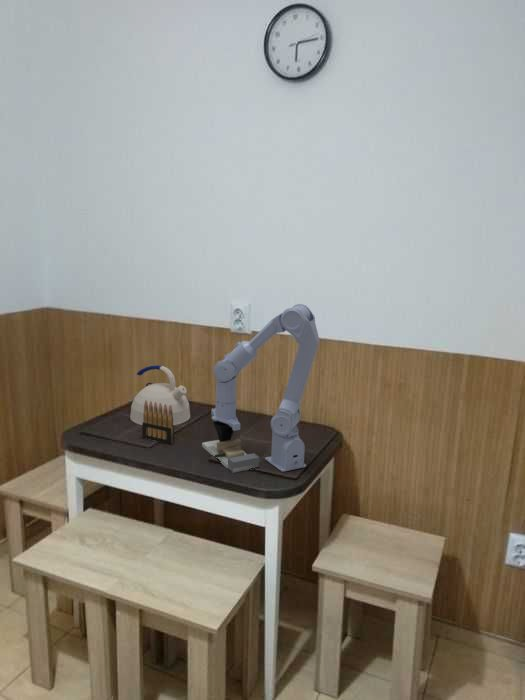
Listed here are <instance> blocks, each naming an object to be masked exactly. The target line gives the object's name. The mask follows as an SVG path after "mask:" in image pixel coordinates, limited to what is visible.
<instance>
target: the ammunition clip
mask: <svg viewBox="0 0 525 700" xmlns="http://www.w3.org/2000/svg"><path fill="white" fill-rule="evenodd" d="M141 426H142V427H141V428H142V430H141V431H142V432H141V438H142V437H143V438H142V439H144V438H147V439H146V440H148V439H151V440H150V441H152V440H156V441H159V442H158V443H161V442H162V443H161V444H166V445H170V446H171V445H174V444H175V442H176V441H175V426H173V414H172V407H171V405H170V406H169V411H168V413H167V406H166V404H165V405H164V410H163V412H162V405H161V403H160V404H159V409H158V408H157V403H156V402H155V404H154V411H153V405H152V402H151V401H150V404H149V412H148V403H147V401H145V404H144V414H143V423H142V425H141ZM156 441H155V442H156Z"/></svg>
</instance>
